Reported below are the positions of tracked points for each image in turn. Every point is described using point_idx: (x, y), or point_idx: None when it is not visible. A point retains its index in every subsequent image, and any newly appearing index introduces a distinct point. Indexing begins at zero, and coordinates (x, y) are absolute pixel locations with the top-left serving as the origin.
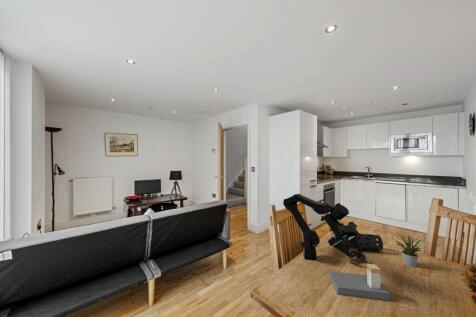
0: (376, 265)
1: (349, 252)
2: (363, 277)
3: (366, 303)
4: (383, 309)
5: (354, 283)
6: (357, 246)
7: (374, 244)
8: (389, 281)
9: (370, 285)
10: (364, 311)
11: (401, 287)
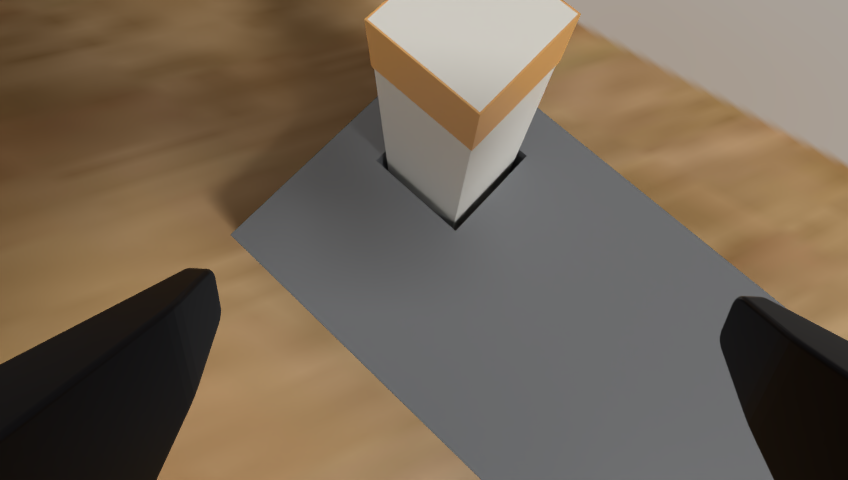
0: (392, 1)
1: (814, 350)
2: (384, 286)
3: (657, 160)
4: (599, 63)
5: (603, 290)
6: (123, 409)
7: None
8: (107, 170)
9: (511, 157)
10: (764, 131)
11: (132, 77)
